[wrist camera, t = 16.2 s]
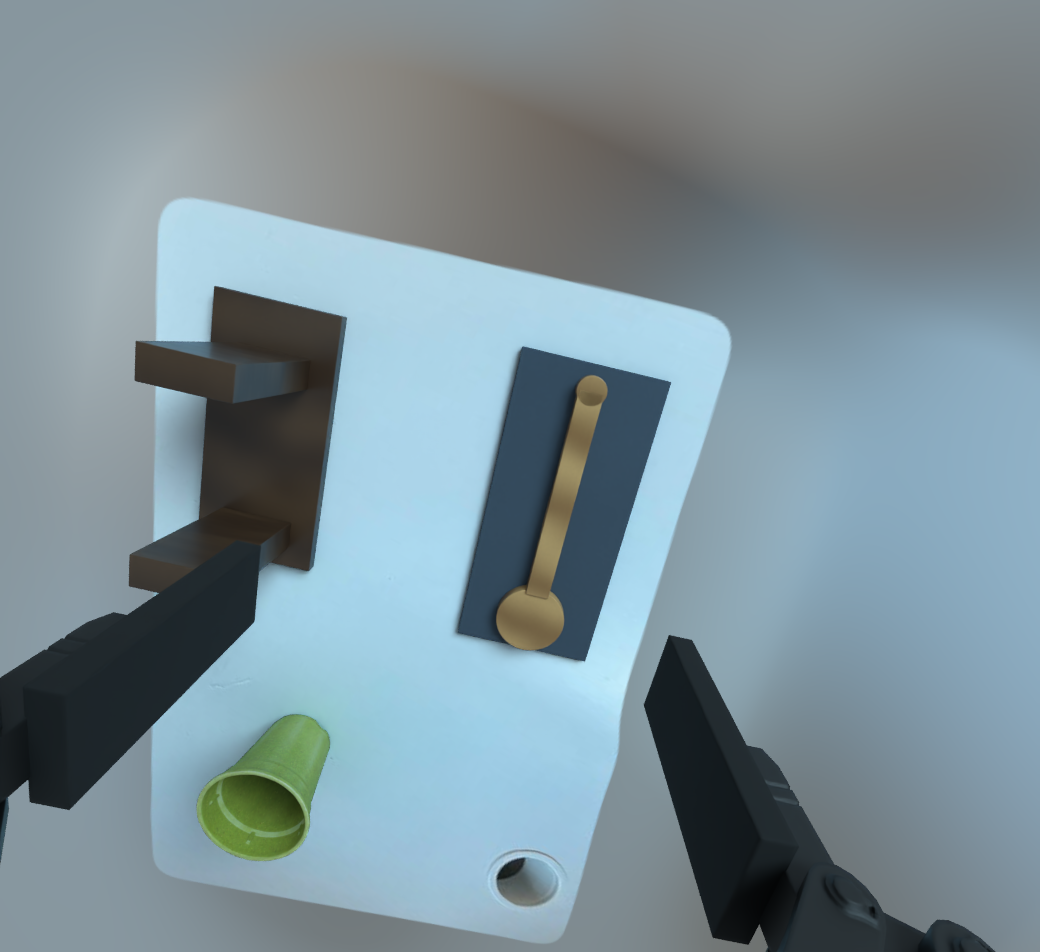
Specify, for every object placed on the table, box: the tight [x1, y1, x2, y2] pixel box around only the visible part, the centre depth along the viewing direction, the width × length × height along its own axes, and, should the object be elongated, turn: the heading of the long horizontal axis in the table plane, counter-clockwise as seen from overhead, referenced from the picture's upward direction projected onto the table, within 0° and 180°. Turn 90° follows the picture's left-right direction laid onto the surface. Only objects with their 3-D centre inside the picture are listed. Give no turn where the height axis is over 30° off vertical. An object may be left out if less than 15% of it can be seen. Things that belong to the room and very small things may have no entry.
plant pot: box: [197, 715, 330, 861], centre depth 45 cm, size 9×9×9 cm
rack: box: [129, 286, 347, 593], centre depth 36 cm, size 22×10×11 cm, turn 167°
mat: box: [458, 347, 671, 661], centre depth 42 cm, size 26×12×1 cm, turn 167°
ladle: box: [496, 375, 608, 650], centre depth 41 cm, size 25×6×1 cm, turn 167°
